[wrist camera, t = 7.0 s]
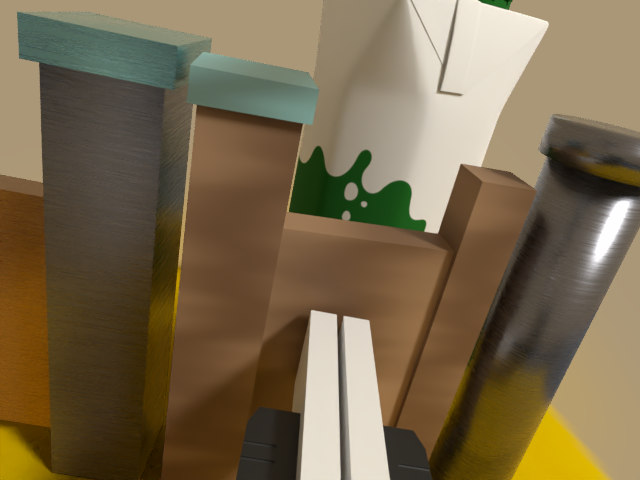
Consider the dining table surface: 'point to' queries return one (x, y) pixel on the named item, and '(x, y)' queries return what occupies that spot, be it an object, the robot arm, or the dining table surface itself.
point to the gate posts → (163, 251)
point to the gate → (313, 274)
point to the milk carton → (406, 104)
